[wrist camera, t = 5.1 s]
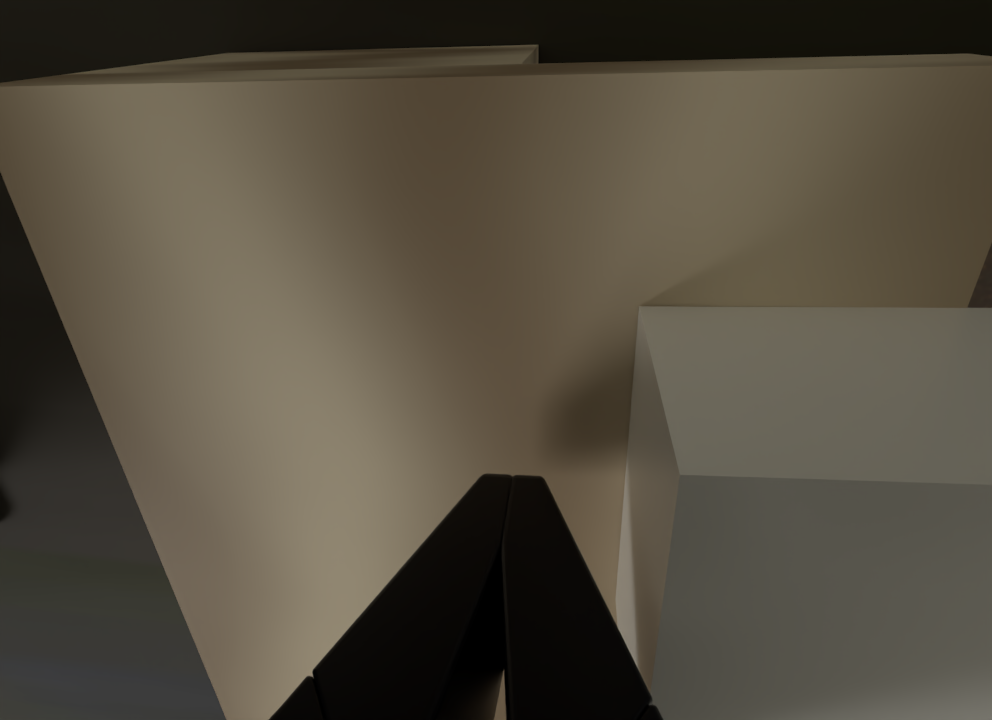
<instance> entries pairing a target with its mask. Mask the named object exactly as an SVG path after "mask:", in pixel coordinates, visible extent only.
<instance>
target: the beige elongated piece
mask: <svg viewBox="0 0 992 720" xmlns="http://www.w3.org/2000/svg"><path fill="white" fill-rule="evenodd" d="M538 57H539V45H509V46H471V47H434V48H396V49H358V50H321V51H283V52H245V53H224V54H216V55H208V56H201V57H193V58H186V59H178V60H170V61H163V62H155V63H148V64H140V65H132V66H125V67H117V68H110V69H102V70H94V71H87V72H79V73H72V74H64V75H56V76H49V77H41V78H34V79H26V80H18V81H11V82H3V83H0V173H1V175H2V177H3V180H4V182H5V185H6V187H7V189H8V192H9V194H10V197H11V199H12V202H13V204H14V206H15V209H16V211H17V214H18V216H19V218H20V221H21V223H22V226H23V228H24V231H25V233H26V235H27V238H28V240H29V243H30V245H31V248H32V250H33V252H34V255H35V257H36V260H37V262H38V264H39V267H40V269H41V272H42V274H43V277H44V279H45V281H46V284H47V286H48V289H49V291H50V293H51V296H52V298H53V301H54V303H55V306H56V308H57V310H58V313H59V315H60V318H61V320H62V322H63V325H64V327H65V330H66V332H67V335H68V337H69V339H70V342H71V344H72V347H73V349H74V351H75V354H76V356H77V359H78V361H79V364H80V366H81V368H82V371H83V373H84V376H85V378H86V381H87V383H88V385H89V388H90V390H91V393H92V395H93V397H94V400H95V402H96V405H97V407H98V410H99V412H100V414H101V417H102V419H103V422H104V424H105V426H106V429H107V431H108V434H109V436H110V439H111V441H112V443H113V446H114V448H115V451H116V453H117V455H118V458H119V460H120V463H121V465H122V468H123V470H124V472H125V475H126V477H127V480H128V482H129V485H130V487H131V489H132V492H133V494H134V497H135V499H136V501H137V504H138V506H139V509H140V511H141V514H142V516H143V518H144V521H145V523H146V526H147V528H148V530H149V533H150V535H151V538H152V540H153V543H154V545H155V547H156V550H157V552H158V555H159V557H160V559H161V562H162V564H163V567H164V569H165V572H166V574H167V576H168V579H169V581H170V584H171V586H172V589H173V591H174V593H175V596H176V598H177V601H178V603H179V605H180V608H181V610H182V613H183V615H184V618H185V620H186V622H187V625H188V627H189V630H190V632H191V634H192V637H193V639H194V642H195V644H196V647H197V649H198V651H199V654H200V656H201V659H202V661H203V663H204V666H205V668H206V671H207V673H208V676H209V678H210V680H211V683H212V685H213V688H214V690H215V692H216V695H217V697H218V700H219V702H220V705H221V707H222V709H223V712H224V714H225V717H226V719H227V720H269V719H270V718H271V716H272V715H273V714H274V713H275V712H276V711H277V710H278V709H279V708H280V707H281V705H282V704H283V703H284V702H285V701H286V700H287V699H288V697H289V696H290V695H291V694H292V693H293V692H294V690H295V689H296V688H297V687H298V686H299V685H300V683H301V682H302V681H303V680H304V679H305V678H306V677H307V676H312V677H313V674H312V671H313V669H314V668H315V667H316V665H317V664H318V663H319V662H320V661H321V660H322V659H323V657H324V656H325V655H326V654H327V653H328V652H329V650H330V649H331V648H332V647H333V646H334V645H335V643H336V642H337V641H338V640H339V639H340V638H341V637H342V635H343V634H344V633H345V632H346V631H347V630H348V628H349V627H350V626H351V625H352V624H353V623H354V622H355V620H356V619H357V618H358V617H359V616H360V615H361V613H362V612H363V611H364V610H365V609H366V608H367V607H368V605H369V604H370V603H371V602H372V601H373V600H374V598H375V597H376V596H377V595H378V594H379V593H380V591H381V590H382V589H383V588H384V587H385V586H386V585H387V583H388V582H389V581H390V580H391V579H392V578H393V576H394V575H395V574H396V573H397V572H398V571H399V570H400V568H401V567H402V566H403V565H404V564H405V563H406V561H407V560H408V559H409V558H410V557H411V556H412V555H413V553H414V552H415V551H416V550H417V549H418V548H419V546H420V545H421V544H422V543H423V542H424V541H425V539H426V538H427V537H428V536H429V535H430V534H431V533H432V531H433V530H434V529H435V528H436V527H437V526H438V524H439V523H440V522H441V521H442V520H443V519H444V518H445V516H446V515H447V514H448V513H449V512H450V511H451V509H452V508H453V507H454V506H455V505H456V504H457V502H458V501H459V500H460V499H461V498H462V497H463V496H464V494H465V493H466V492H467V491H468V490H469V489H470V487H471V486H472V485H473V484H474V483H475V482H476V481H477V479H478V478H479V477H480V476H481V475H483V474H486V473H491V474H510V475H512V476H514V475H534V476H541V477H543V478H544V479H545V481H546V482H547V484H548V486H549V488H550V491H551V493H552V495H553V497H554V499H555V501H556V503H557V505H558V507H559V509H560V511H561V513H562V515H563V517H564V519H565V521H566V523H567V525H568V527H569V529H570V531H571V533H572V535H573V537H574V539H575V541H576V543H577V545H578V548H579V550H580V552H581V554H582V556H583V558H584V560H585V562H586V564H587V566H588V568H589V570H590V572H591V574H592V576H593V578H594V580H595V582H596V584H597V586H598V588H599V590H600V592H601V594H602V596H603V598H604V600H605V602H606V605H607V607H608V609H609V611H610V613H611V615H612V617H613V619H614V621H615V623H616V625H617V627H618V624H617V612H616V600H615V598H616V586H617V573H618V561H619V548H620V536H621V523H622V511H623V499H624V486H625V474H626V461H627V449H628V436H629V424H630V411H631V399H632V386H633V374H634V362H635V349H636V337H637V324H638V312H639V306H678V307H900V308H967V307H968V304H969V301H970V299H971V296H972V294H973V291H974V288H975V286H976V283H977V280H978V278H979V275H980V272H981V270H982V267H983V265H984V262H985V259H986V257H987V254H988V251H989V249H990V246H991V243H992V56H985V55H976V54H929V55H886V56H843V57H800V58H757V59H715V60H672V61H629V62H586V63H543V64H538ZM313 679H314V678H313ZM494 720H506V707H505V683H504V671H503V676H502V682H501V687H500V692H499V697H498V702H497V707H496V712H495V717H494Z"/></svg>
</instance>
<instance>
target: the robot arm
mask: <svg viewBox="0 0 992 720" xmlns="http://www.w3.org/2000/svg"><path fill="white" fill-rule="evenodd" d="M503 671H504V683H505V707H506V720H663V718H662V716H661V714H660V712H659V710H658V708H657V706H655V705H652V703H653V699H652V696H651V694H650V692H649V690H648V688H647V686H646V684H645V682H644V680H643V678H642V676H641V674H640V672H639V670H638V668H637V666H636V664H635V662H634V659H633V657H632V655H631V653H630V651H629V649H628V647H627V645H626V643H625V641H624V639H623V637H622V635H621V633H620V631H619V629H618V627H617V625H616V623H615V621H614V619H613V617H612V615H611V613H610V611H609V609H608V607H607V605H606V602H605V600H604V598H603V596H602V594H601V592H600V590H599V588H598V586H597V584H596V582H595V580H594V578H593V576H592V574H591V572H590V570H589V568H588V566H587V564H586V562H585V560H584V558H583V556H582V554H581V552H580V550H579V548H578V545H577V543H576V541H575V539H574V537H573V535H572V533H571V531H570V529H569V527H568V525H567V523H566V521H565V519H564V517H563V515H562V513H561V511H560V509H559V507H558V505H557V503H556V501H555V499H554V497H553V495H552V493H551V491H550V488H549V486H548V484H547V482H546V481H545V479H544V478H543V477H541V476H534V475H514V476H512V475H510V474H491V473H486V474H483V475H481V476H480V477H479V478H478V479H477V481H476V482H475V483H474V484H473V485H472V486H471V487H470V489H469V490H468V491H467V492H466V493H465V494H464V496H463V497H462V498H461V499H460V500H459V501H458V502H457V504H456V505H455V506H454V507H453V508H452V509H451V511H450V512H449V513H448V514H447V515H446V516H445V518H444V519H443V520H442V521H441V522H440V523H439V524H438V526H437V527H436V528H435V529H434V530H433V531H432V533H431V534H430V535H429V536H428V537H427V538H426V539H425V541H424V542H423V543H422V544H421V545H420V546H419V548H418V549H417V550H416V551H415V552H414V553H413V555H412V556H411V557H410V558H409V559H408V560H407V561H406V563H405V564H404V565H403V566H402V567H401V568H400V570H399V571H398V572H397V573H396V574H395V575H394V576H393V578H392V579H391V580H390V581H389V582H388V583H387V585H386V586H385V587H384V588H383V589H382V590H381V591H380V593H379V594H378V595H377V596H376V597H375V598H374V600H373V601H372V602H371V603H370V604H369V605H368V607H367V608H366V609H365V610H364V611H363V612H362V613H361V615H360V616H359V617H358V618H357V619H356V620H355V622H354V623H353V624H352V625H351V626H350V627H349V628H348V630H347V631H346V632H345V633H344V634H343V635H342V637H341V638H340V639H339V640H338V641H337V642H336V643H335V645H334V646H333V647H332V648H331V649H330V650H329V652H328V653H327V654H326V655H325V656H324V657H323V659H322V660H321V661H320V662H319V663H318V664H317V665H316V667H315V668H314V669H313V671H312V674H313V677H312V676H307V677H306V678H305V679H304V680H303V681H302V682H301V683H300V685H299V686H298V687H297V688H296V689H295V690H294V692H293V693H292V694H291V695H290V696H289V697H288V699H287V700H286V701H285V702H284V703H283V704H282V705H281V707H280V708H279V709H278V710H277V711H276V712H275V713H274V714H273V715H272V716H271V718H270V719H269V720H494V717H495V712H496V707H497V702H498V697H499V692H500V687H501V682H502V676H503ZM313 678H314V679H313Z"/></svg>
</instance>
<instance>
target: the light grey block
mask: <svg viewBox="0 0 992 720" xmlns="http://www.w3.org/2000/svg"><path fill="white" fill-rule="evenodd" d="M615 600H616V612H617V624H618V629H619V631H620V633H621V635H622V637H623V639H624V641H625V643H626V645H627V647H628V649H629V651H630V653H631V655H632V657H633V659H634V662H635V664H636V666H637V668H638V670H639V672H640V674H641V676H642V678H643V680H644V682H645V684H646V686H647V688H648V690H649V692H650V694H651V696H652V699H653V703H652V705H655V706H657V708H658V710H659V712H660V714H661V716H662V718H663V720H992V308H900V307H678V306H639V312H638V324H637V337H636V349H635V362H634V374H633V386H632V399H631V411H630V424H629V436H628V449H627V461H626V474H625V486H624V499H623V511H622V523H621V536H620V548H619V561H618V573H617V586H616V598H615Z"/></svg>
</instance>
